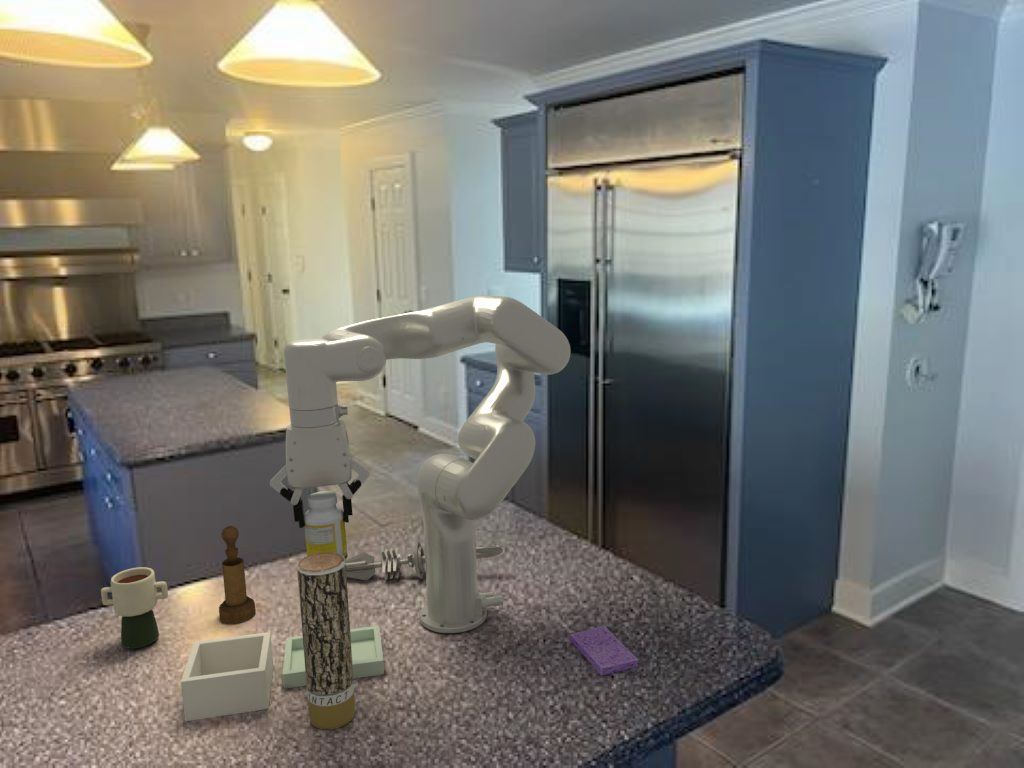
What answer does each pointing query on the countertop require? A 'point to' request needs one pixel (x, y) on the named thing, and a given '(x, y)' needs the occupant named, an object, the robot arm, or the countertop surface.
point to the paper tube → (326, 639)
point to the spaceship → (400, 562)
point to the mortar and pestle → (234, 583)
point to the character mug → (135, 604)
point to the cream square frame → (228, 676)
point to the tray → (363, 656)
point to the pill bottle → (325, 525)
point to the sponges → (603, 650)
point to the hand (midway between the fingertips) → (324, 521)
